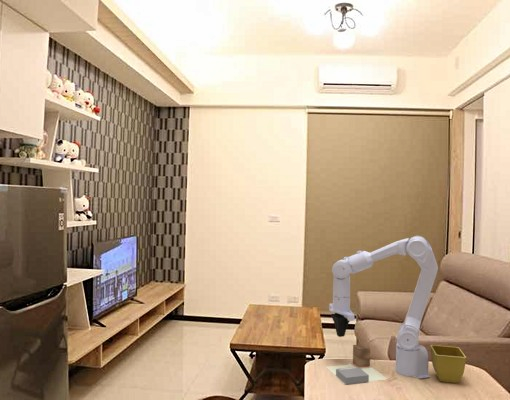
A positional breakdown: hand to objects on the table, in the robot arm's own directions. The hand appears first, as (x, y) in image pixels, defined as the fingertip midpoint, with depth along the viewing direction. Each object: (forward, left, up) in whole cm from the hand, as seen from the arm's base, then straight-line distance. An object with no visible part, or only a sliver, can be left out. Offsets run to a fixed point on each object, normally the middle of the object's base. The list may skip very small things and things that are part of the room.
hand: (340, 336), depth 143 cm
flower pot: (-27, +19, -10) cm, 34 cm away
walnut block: (-5, +5, -8) cm, 11 cm away
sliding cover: (+3, +14, -8) cm, 16 cm away
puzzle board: (0, +10, -9) cm, 14 cm away
